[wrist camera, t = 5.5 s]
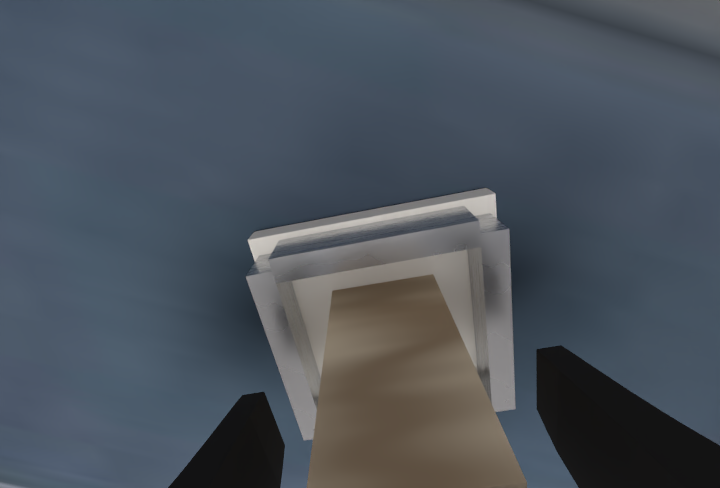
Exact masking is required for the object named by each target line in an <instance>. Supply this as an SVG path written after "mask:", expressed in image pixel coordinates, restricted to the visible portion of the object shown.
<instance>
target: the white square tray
mask: <svg viewBox="0 0 720 488" xmlns="http://www.w3.org/2000/svg"><path fill="white" fill-rule="evenodd" d="M462 250H468V262H469V274H470V286H471V298H472V310H473V321H474V333H475V345H476V357H477V369H478V375H479V377H480V379H481V382H482V384H483V386H484V388H485V391H486V393H487V395H488V397H489V399H490V402H491V404H492V406H493V408H494V411H495V412H499V411H506V410H513V409H515V381H514V352H513V322H512V292H511V263H510V233H509V228H508V227H507V226H505V225H504V224H503V223H502V222H500V221H499V220H498V219H497V218H496V217H494V216H493V215H492V214H491V213H487V214H482V215H476V216H474V215H473V214H472V213H471V212H470V211H469V210H468V209H467V208H466V207H465V206H459V207H454V208H449V209H443V210H438V211H433V212H427V213H422V214H417V215H411V216H406V217H400V218H395V219H390V220H384V221H379V222H374V223H368V224H363V225H358V226H352V227H347V228H341V229H336V230H331V231H325V232H320V233H315V234H309V235H304V236H298V237H293V238H288V239H282V240H279V241H278V243H277V245H276V246H275V248H274V250H273V252H272V253H270V254H265V255H259V256H258V258H257V259H256V261H255V263H254V264H253V266H252V267H251V269H250V270H249V272H248V273H247V275H246V279H247V282H248V285H249V288H250V290H251V293H252V296H253V299H254V302H255V304H256V307H257V310H258V313H259V316H260V318H261V321H262V324H263V327H264V330H265V332H266V335H267V338H268V341H269V344H270V346H271V349H272V352H273V355H274V358H275V361H276V363H277V366H278V369H279V372H280V375H281V377H282V380H283V383H284V386H285V389H286V391H287V394H288V397H289V400H290V403H291V405H292V408H293V411H294V414H295V417H296V420H297V422H298V425H299V428H300V431H301V434H302V436H303V439H304V440H310V439H313V436H314V428H315V421H316V413H317V405H318V398H319V390H320V382H321V377H320V374H319V371H318V367H317V364H316V361H315V357H314V354H313V351H312V348H311V344H310V341H309V338H308V334H307V331H306V328H305V324H304V321H303V318H302V314H301V311H300V308H299V304H298V301H297V298H296V295H295V291H294V288H293V285H292V281H294V280H299V279H305V278H311V277H316V276H322V275H327V274H333V273H339V272H344V271H350V270H355V269H361V268H367V267H372V266H378V265H383V264H389V263H395V262H400V261H406V260H411V259H417V258H423V257H428V256H434V255H440V254H445V253H451V252H456V251H462Z"/></svg>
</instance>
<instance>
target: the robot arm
mask: <svg viewBox="0 0 720 488" xmlns="http://www.w3.org/2000/svg"><path fill="white" fill-rule="evenodd" d="M537 410H538V412H539V415H540V417H541V419H542V421H543V423H544V425H545V428H546V430H547V432H548V434H549V436H550V438H551V440H552V442H553V444H554V446H555V448H556V450H557V452H558V454H559V455H560V457H561V459H562V461H563V462H564V464H565V466H566V467H567V469H568V470H569V472H570V474H571V475H572V477H573V479H574V480H575V482H576V484H577V485H578V487H579V488H720V446H719V445H718V444H716V443H714V442H712V441H711V440H709V439H707V438H706V437H704V436H702V435H700V434H699V433H697V432H695V431H694V430H692V429H690V428H688V427H687V426H685V425H683V424H682V423H680V422H678V421H677V420H675V419H674V418H672V417H670V416H669V415H667V414H665V413H664V412H662V411H660V410H659V409H657V408H656V407H654V406H652V405H651V404H649V403H648V402H646V401H645V400H643V399H641V398H640V397H638V396H637V395H635V394H634V393H632V392H630V391H629V390H627V389H626V388H624V387H623V386H621V385H620V384H618V383H617V382H615V381H614V380H612V379H611V378H609V377H608V376H606V375H605V374H603V373H602V372H600V371H599V370H597V369H596V368H594V367H593V366H591V365H590V364H588V363H587V362H585V361H584V360H582V359H581V358H579V357H578V356H576V355H575V354H573V353H572V352H570V351H569V350H567V349H566V348H564V347H563V346H555V347H548V348H542V349H537ZM284 448H285V444H284V442H283V439H282V437H281V434H280V432H279V429H278V426H277V424H276V421H275V419H274V416H273V413H272V411H271V408H270V406H269V403H268V401H267V398H266V395H265V393H264V392H260V393H253V394H247V395H242V396H241V398H240V399H239V400H238V401H237V402H236V404H235V405H234V406H233V407H232V409H231V410H230V411H229V413H228V414H227V415H226V416H225V418H224V419H223V420H222V422H221V423H220V424H219V425H218V427H217V428H216V429H215V431H214V432H213V433H212V434H211V436H210V437H209V438H208V440H207V441H206V442H205V443H204V445H203V446H202V447H201V448H200V450H199V451H198V452H197V453H196V455H195V456H194V457H193V458H192V460H191V461H190V462H189V463H188V465H187V466H186V467H185V468H184V470H183V471H182V472H181V473H180V474H179V476H178V477H177V478H176V479H175V480H174V481H173V483H172V484H171V485H170V486H169V487H168V488H280V484H281V476H282V468H283V458H284Z"/></svg>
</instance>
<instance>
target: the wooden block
mask: <svg viewBox="0 0 720 488" xmlns="http://www.w3.org/2000/svg"><path fill="white" fill-rule="evenodd" d="M307 488H527V482H526V480H525V477H524V475H523V473H522V471H521V468H520V466H519V464H518V462H517V459H516V457H515V455H514V453H513V451H512V448H511V446H510V444H509V442H508V439H507V437H506V435H505V433H504V431H503V428H502V426H501V424H500V422H499V419H498V417H497V415H496V413H495V411H494V408H493V406H492V404H491V402H490V399H489V397H488V395H487V393H486V391H485V388H484V386H483V384H482V382H481V379H480V377H479V375H478V373H477V370H476V368H475V366H474V364H473V362H472V359H471V357H470V355H469V353H468V350H467V348H466V346H465V344H464V342H463V339H462V337H461V335H460V333H459V330H458V328H457V326H456V324H455V322H454V319H453V317H452V315H451V313H450V310H449V308H448V306H447V304H446V302H445V299H444V297H443V295H442V293H441V290H440V288H439V286H438V284H437V281H436V279H435V277H434V275H433V274H431V275H425V276H419V277H413V278H407V279H401V280H395V281H388V282H382V283H376V284H370V285H364V286H358V287H352V288H346V289H340V290H333V291H332V297H331V305H330V313H329V320H328V328H327V336H326V343H325V351H324V359H323V367H322V374H321V382H320V390H319V398H318V405H317V413H316V421H315V428H314V436H313V444H312V452H311V459H310V467H309V475H308V483H307Z"/></svg>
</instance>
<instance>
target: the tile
mask: <svg viewBox="0 0 720 488" xmlns="http://www.w3.org/2000/svg"><path fill="white" fill-rule="evenodd" d="M459 206H465V207H466V208H467V209H468V210H469V211H470V212H471V213H472V214H473V215H474V216H476V215H482V214H487V213H491V214H492V215H493V216H494V217H496V218H497V214H496V194H495V193H494V192H492V191H491V190H489V189H488V188H483V189H477V190H472V191H467V192H462V193H456V194H451V195H446V196H440V197H435V198H430V199H424V200H419V201H414V202H409V203H403V204H398V205H393V206H387V207H382V208H377V209H371V210H366V211H361V212H356V213H350V214H345V215H340V216H334V217H329V218H324V219H319V220H313V221H308V222H303V223H297V224H292V225H287V226H281V227H276V228H271V229H266V230H260V231H255V232H254V233H253V234H252V235H251V236H250V238H249V239H248V243H249V246H250V249H251V252H252V255H253V258H254V261H256V259H257V258H258V256H259V255H265V254H270V253H272V252H273V250H274V248H275V246H276V245H277V243H278V241H279V240H282V239H288V238H293V237H298V236H304V235H309V234H315V233H320V232H325V231H331V230H336V229H341V228H347V227H352V226H358V225H363V224H368V223H374V222H379V221H384V220H390V219H395V218H400V217H406V216H411V215H417V214H422V213H427V212H433V211H438V210H443V209H449V208H454V207H459ZM431 274H433V275H434V277H435V279H436V281H437V284H438V286H439V288H440V290H441V293H442V295H443V297H444V299H445V302H446V304H447V306H448V308H449V310H450V313H451V315H452V317H453V319H454V322H455V324H456V326H457V328H458V330H459V333H460V335H461V337H462V339H463V342H464V344H465V346H466V348H467V350H468V353H469V355H470V357H471V359H472V362H473V364H474V366H475V368H476V370H477V373H478V369H477V357H476V345H475V333H474V321H473V310H472V298H471V286H470V274H469V262H468V250H462V251H456V252H451V253H445V254H440V255H434V256H428V257H423V258H417V259H411V260H406V261H400V262H395V263H389V264H383V265H378V266H372V267H367V268H361V269H355V270H350V271H344V272H339V273H333V274H327V275H322V276H316V277H311V278H305V279H299V280H294V281H292V285H293V288H294V291H295V295H296V298H297V301H298V304H299V308H300V311H301V314H302V318H303V321H304V324H305V328H306V331H307V334H308V338H309V341H310V344H311V348H312V351H313V354H314V357H315V361H316V364H317V367H318V371H319V374H320V377H321V374H322V367H323V359H324V351H325V343H326V336H327V328H328V320H329V313H330V305H331V297H332V291H333V290H340V289H346V288H352V287H358V286H364V285H370V284H376V283H382V282H388V281H395V280H401V279H407V278H413V277H419V276H425V275H431Z"/></svg>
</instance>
